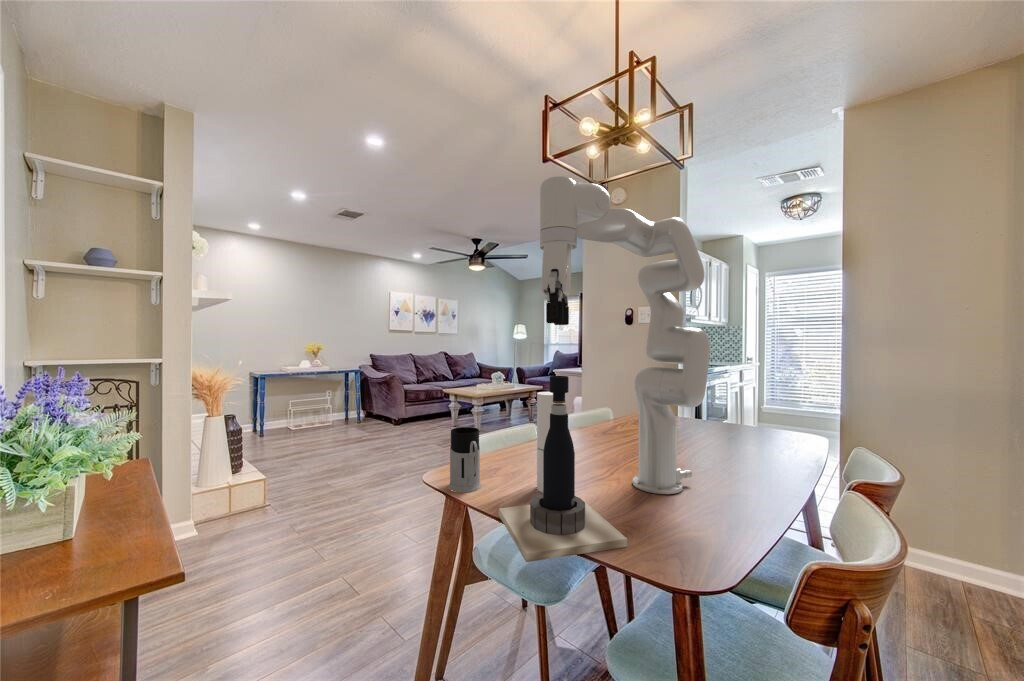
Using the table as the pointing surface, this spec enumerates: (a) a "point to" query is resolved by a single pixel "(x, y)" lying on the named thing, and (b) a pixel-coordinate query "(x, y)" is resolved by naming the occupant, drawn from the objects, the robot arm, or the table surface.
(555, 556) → the bottle stand
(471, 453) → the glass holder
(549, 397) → the cylindrical container
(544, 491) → the wine bottle
